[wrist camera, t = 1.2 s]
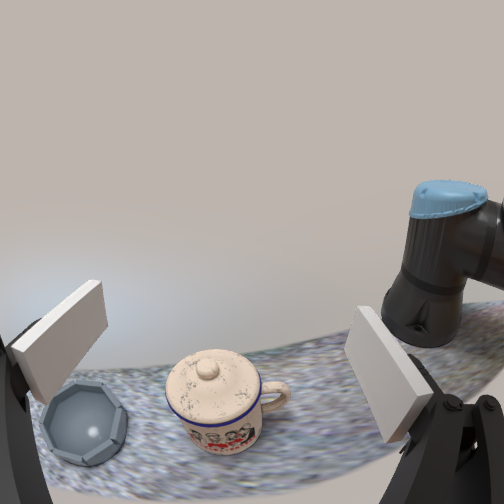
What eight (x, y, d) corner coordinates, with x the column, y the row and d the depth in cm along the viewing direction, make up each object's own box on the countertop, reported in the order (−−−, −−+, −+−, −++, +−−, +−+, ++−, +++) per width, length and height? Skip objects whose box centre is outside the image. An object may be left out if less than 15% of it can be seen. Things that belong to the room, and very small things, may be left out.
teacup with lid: (187, 460, 22) (150, 410, 17) (186, 398, 30) (160, 334, 25) (297, 447, 23) (307, 393, 18) (280, 386, 32) (281, 319, 26)
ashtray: (134, 393, 30) (127, 383, 29) (120, 475, 19) (110, 468, 18) (64, 386, 30) (56, 377, 29) (41, 453, 18) (31, 445, 17)
